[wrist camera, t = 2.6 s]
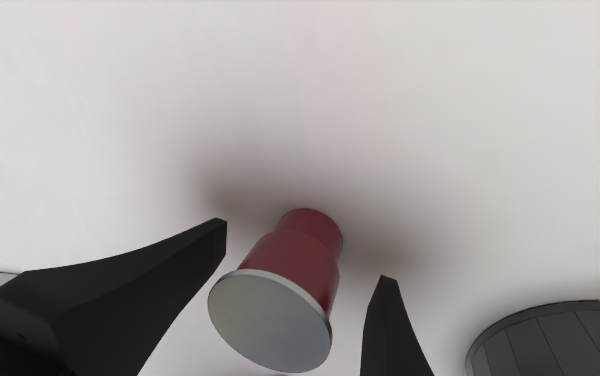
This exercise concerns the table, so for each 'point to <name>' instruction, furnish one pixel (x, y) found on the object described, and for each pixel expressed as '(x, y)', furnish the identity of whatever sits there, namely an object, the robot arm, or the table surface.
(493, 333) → the tin
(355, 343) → the table surface
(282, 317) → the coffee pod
